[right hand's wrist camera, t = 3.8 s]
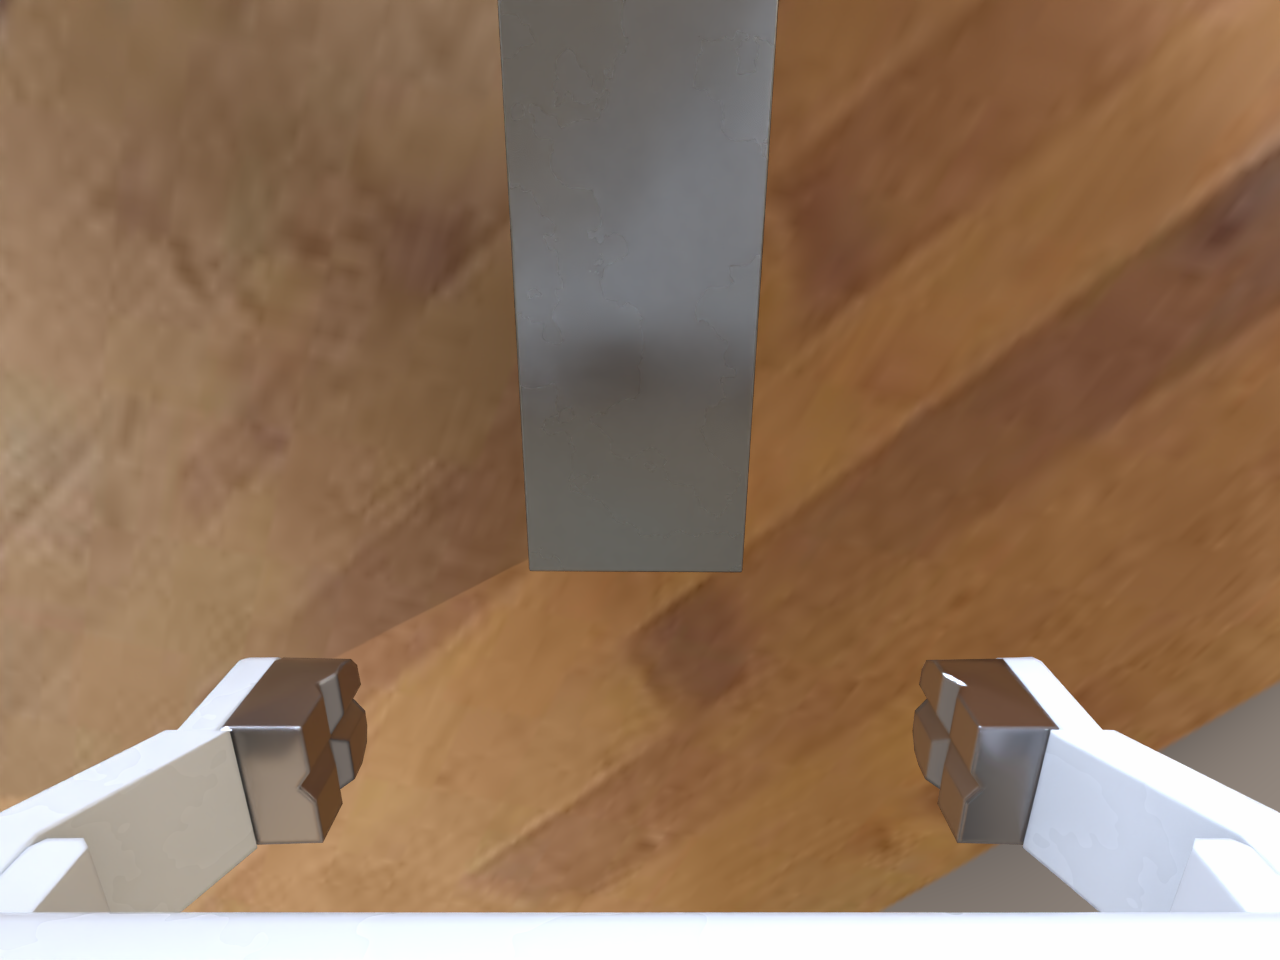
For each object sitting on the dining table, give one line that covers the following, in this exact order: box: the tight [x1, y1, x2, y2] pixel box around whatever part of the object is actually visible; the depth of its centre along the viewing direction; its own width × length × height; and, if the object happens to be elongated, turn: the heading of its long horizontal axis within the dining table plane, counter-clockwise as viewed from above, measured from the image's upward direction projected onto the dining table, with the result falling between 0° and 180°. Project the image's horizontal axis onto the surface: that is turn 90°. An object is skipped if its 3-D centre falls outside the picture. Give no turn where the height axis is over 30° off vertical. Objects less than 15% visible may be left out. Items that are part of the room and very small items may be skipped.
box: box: [498, 0, 779, 572], centre depth 19 cm, size 27×6×9 cm, turn 0°
